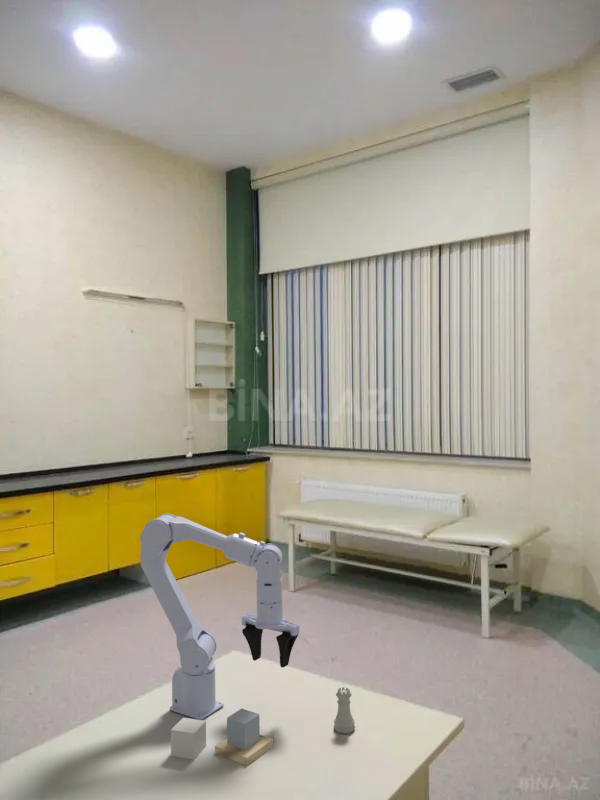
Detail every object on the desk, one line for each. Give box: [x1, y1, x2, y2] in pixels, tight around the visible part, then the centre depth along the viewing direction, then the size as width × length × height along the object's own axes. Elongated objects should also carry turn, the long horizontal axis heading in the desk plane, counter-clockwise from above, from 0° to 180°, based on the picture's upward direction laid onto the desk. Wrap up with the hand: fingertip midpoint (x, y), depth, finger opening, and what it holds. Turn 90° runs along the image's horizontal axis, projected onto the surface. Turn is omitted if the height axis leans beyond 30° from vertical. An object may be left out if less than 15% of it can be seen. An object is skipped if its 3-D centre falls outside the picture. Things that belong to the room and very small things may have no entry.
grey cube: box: [170, 717, 207, 761], centre depth 118 cm, size 5×5×5 cm
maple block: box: [214, 734, 274, 766], centre depth 118 cm, size 8×8×2 cm
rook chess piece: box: [333, 686, 356, 735], centre depth 125 cm, size 4×4×8 cm
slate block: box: [226, 708, 261, 750], centre depth 118 cm, size 4×4×5 cm
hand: (270, 662), depth 135 cm, fingers open, 7 cm apart
